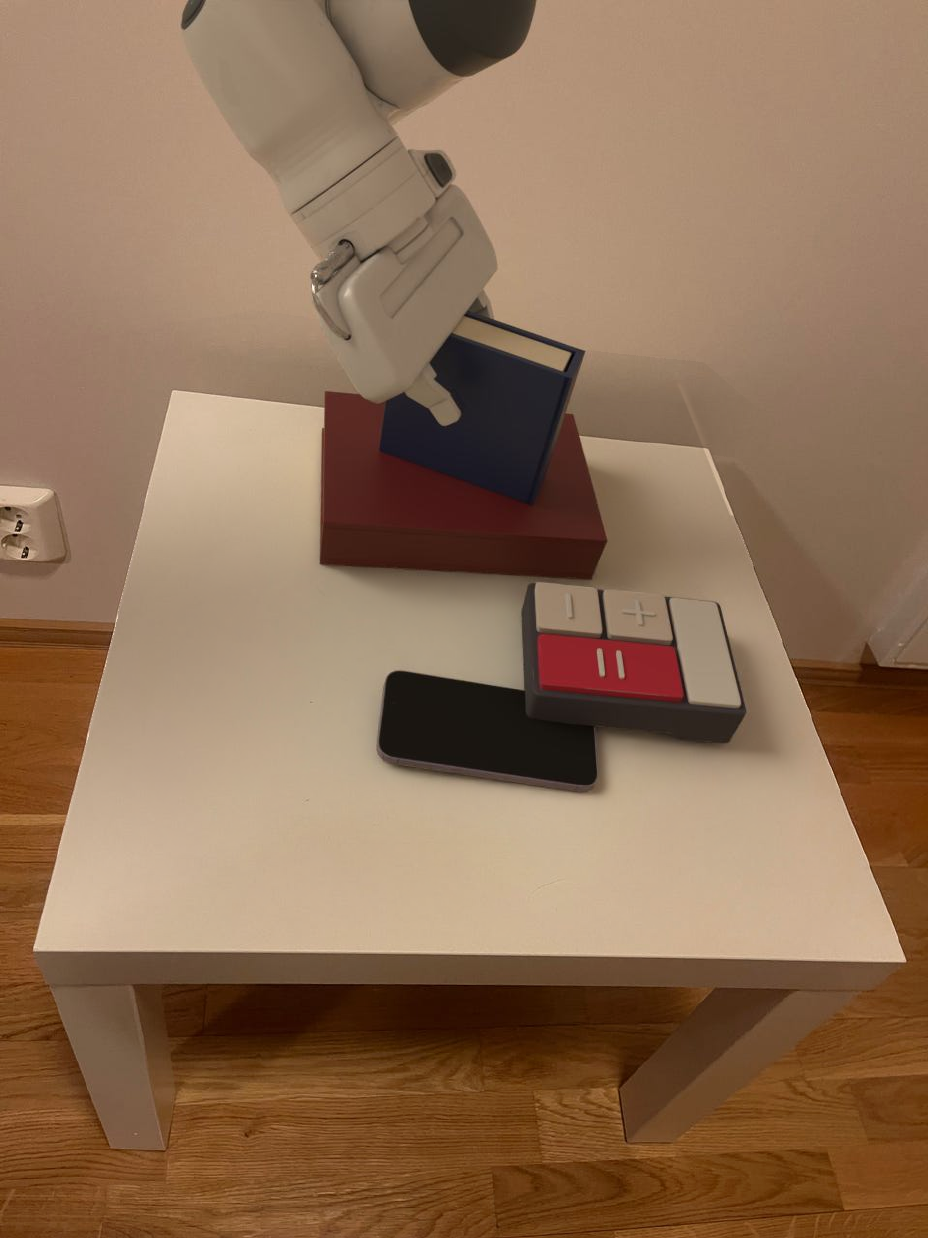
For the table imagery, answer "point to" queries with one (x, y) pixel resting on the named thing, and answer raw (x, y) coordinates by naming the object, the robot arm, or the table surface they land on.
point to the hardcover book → (490, 408)
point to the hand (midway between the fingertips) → (476, 385)
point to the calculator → (629, 662)
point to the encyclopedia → (448, 507)
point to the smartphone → (480, 733)
